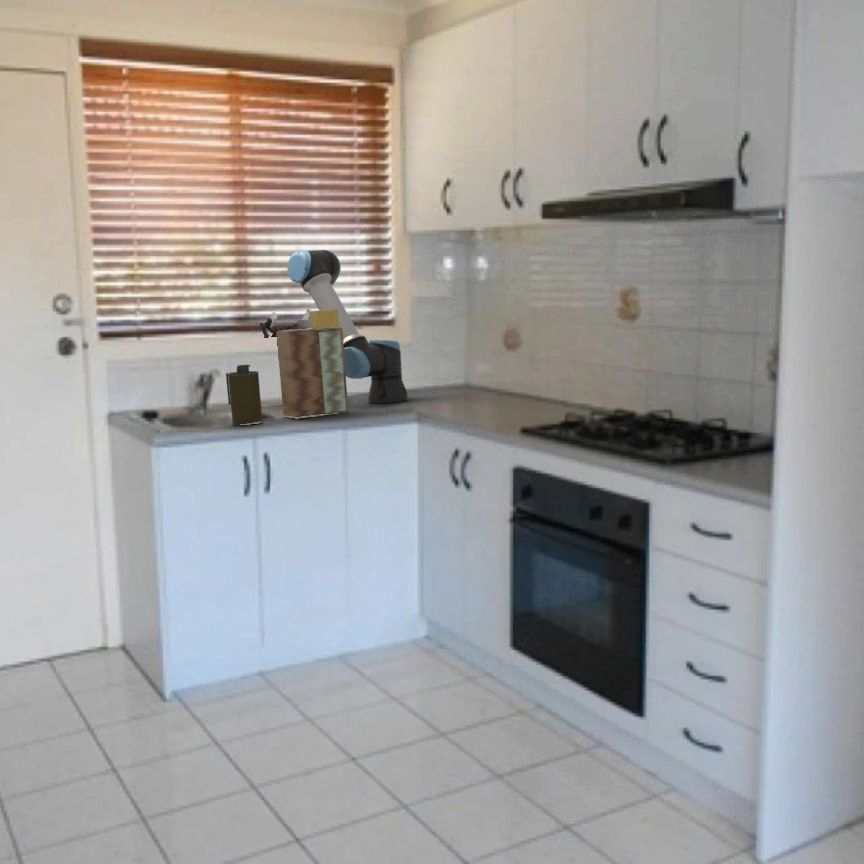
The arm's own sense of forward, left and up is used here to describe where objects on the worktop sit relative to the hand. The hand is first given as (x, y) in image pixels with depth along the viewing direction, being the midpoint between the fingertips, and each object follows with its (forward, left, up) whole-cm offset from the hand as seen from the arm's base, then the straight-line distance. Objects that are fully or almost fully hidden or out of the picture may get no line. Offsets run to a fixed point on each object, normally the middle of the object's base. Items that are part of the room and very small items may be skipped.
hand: (292, 313), depth 375 cm
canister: (+30, +23, -35) cm, 52 cm away
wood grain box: (+5, +25, -35) cm, 43 cm away
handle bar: (0, +18, -5) cm, 19 cm away
